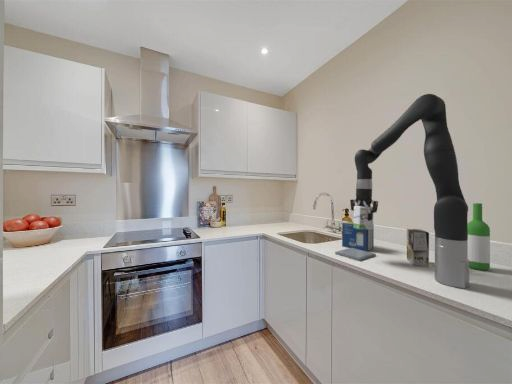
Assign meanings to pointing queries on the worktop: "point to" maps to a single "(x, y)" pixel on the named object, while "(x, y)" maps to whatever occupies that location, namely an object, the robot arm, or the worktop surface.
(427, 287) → the worktop surface
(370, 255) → the plate
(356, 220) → the ink box
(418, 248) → the coffee box
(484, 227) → the wine bottle
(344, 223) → the protein box
